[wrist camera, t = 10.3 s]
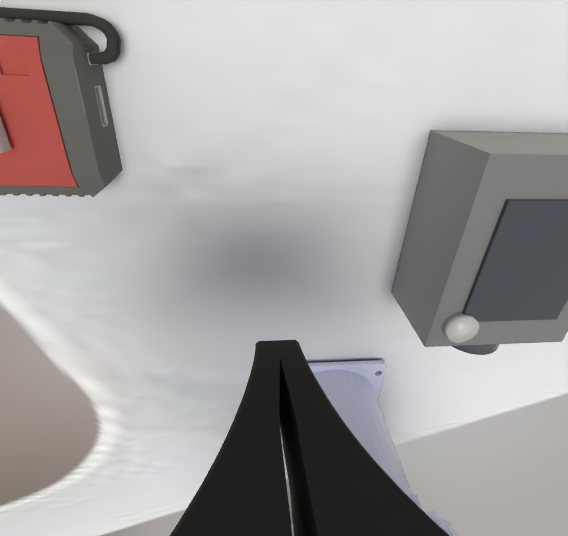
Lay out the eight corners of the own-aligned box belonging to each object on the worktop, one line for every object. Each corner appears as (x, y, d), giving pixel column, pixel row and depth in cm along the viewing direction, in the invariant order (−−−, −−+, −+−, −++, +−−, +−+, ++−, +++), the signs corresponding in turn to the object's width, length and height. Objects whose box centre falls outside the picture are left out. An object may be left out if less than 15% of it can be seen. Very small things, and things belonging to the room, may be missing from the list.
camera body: (504, 303, 24) (567, 363, 19) (387, 306, 23) (423, 369, 18) (583, 133, 18) (700, 159, 13) (430, 130, 17) (498, 156, 13)
